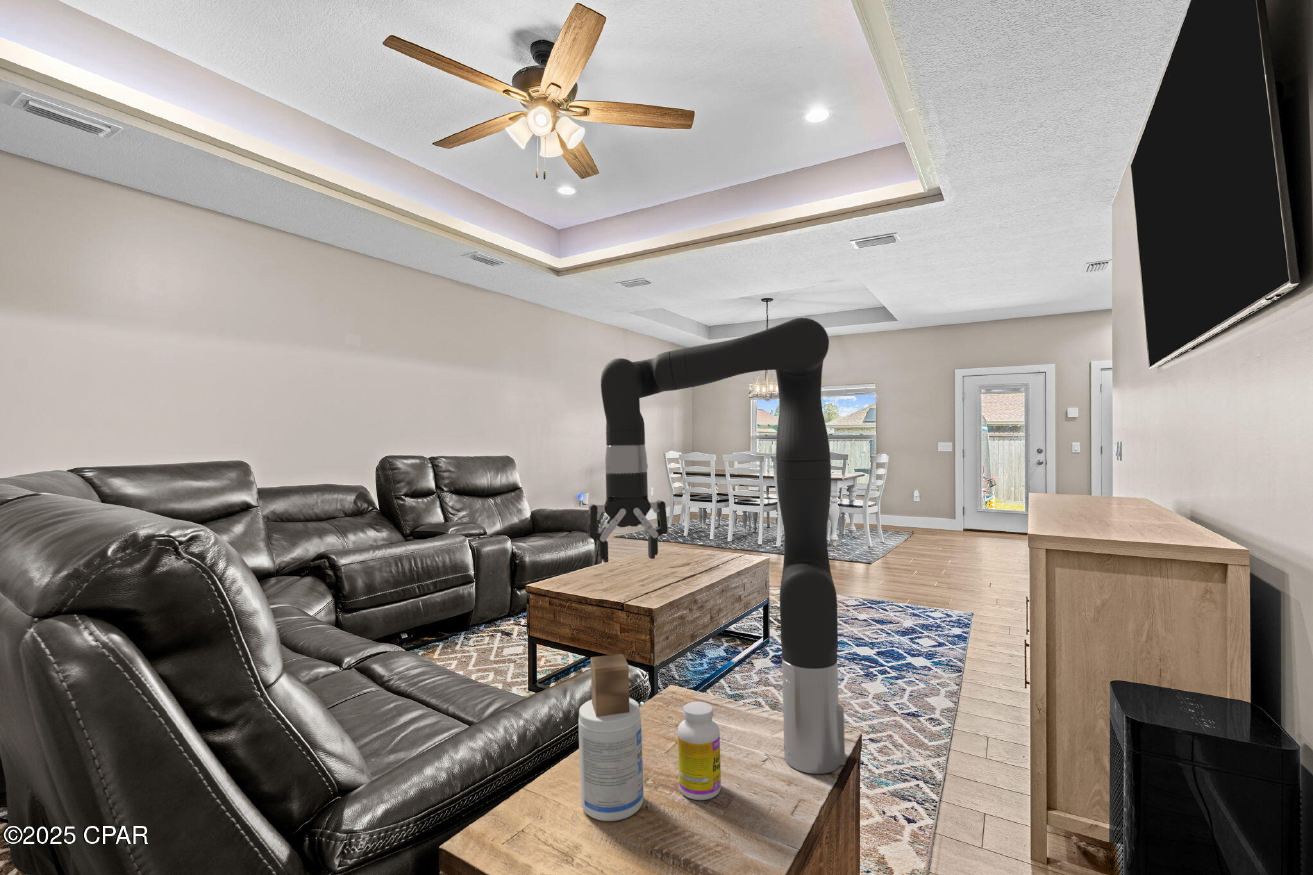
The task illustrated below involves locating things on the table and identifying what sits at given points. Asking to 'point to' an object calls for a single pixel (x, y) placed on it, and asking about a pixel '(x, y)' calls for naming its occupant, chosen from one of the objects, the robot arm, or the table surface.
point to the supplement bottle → (699, 752)
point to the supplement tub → (610, 762)
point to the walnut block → (610, 685)
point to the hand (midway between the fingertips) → (628, 560)
